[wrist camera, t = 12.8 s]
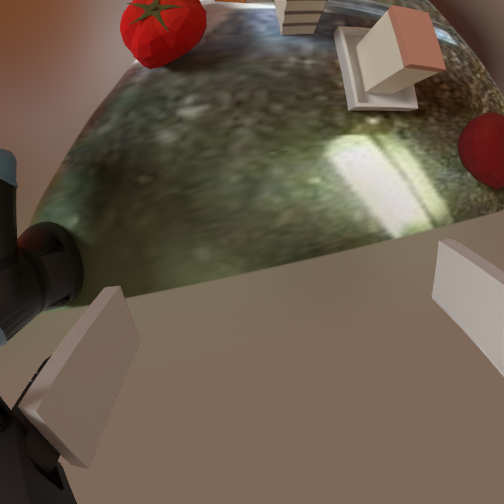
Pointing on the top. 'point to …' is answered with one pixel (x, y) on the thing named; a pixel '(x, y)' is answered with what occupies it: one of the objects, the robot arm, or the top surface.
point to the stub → (398, 51)
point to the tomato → (162, 29)
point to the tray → (352, 80)
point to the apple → (484, 149)
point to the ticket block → (298, 15)
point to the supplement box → (233, 0)
